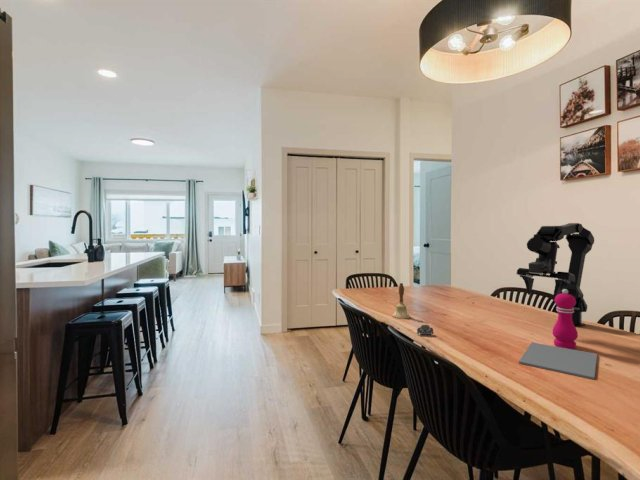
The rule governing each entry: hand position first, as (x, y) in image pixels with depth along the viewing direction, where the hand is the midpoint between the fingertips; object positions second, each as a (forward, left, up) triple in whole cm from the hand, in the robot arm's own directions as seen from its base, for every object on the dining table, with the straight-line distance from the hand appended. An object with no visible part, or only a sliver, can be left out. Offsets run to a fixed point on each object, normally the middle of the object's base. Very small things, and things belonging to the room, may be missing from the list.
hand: (541, 296), depth 131 cm
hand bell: (+35, -44, -15) cm, 58 cm away
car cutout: (+38, -15, -15) cm, 43 cm away
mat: (+18, +20, -15) cm, 31 cm away
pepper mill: (+5, +12, -15) cm, 20 cm away
